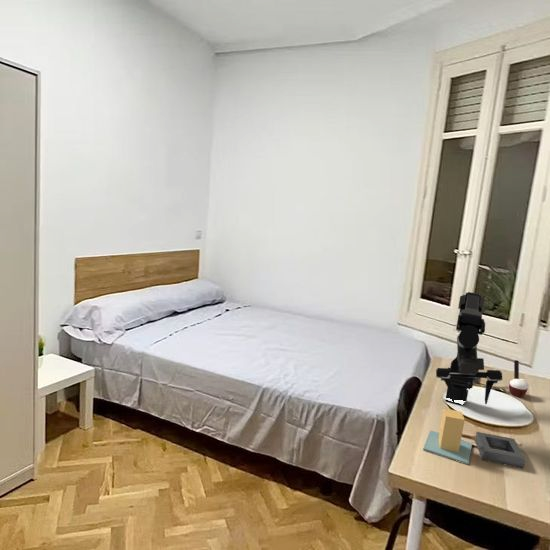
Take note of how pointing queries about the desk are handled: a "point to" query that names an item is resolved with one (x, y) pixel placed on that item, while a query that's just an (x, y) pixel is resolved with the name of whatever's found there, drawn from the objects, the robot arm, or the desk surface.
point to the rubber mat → (434, 448)
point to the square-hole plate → (499, 456)
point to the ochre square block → (451, 430)
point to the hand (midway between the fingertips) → (469, 403)
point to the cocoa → (518, 383)
